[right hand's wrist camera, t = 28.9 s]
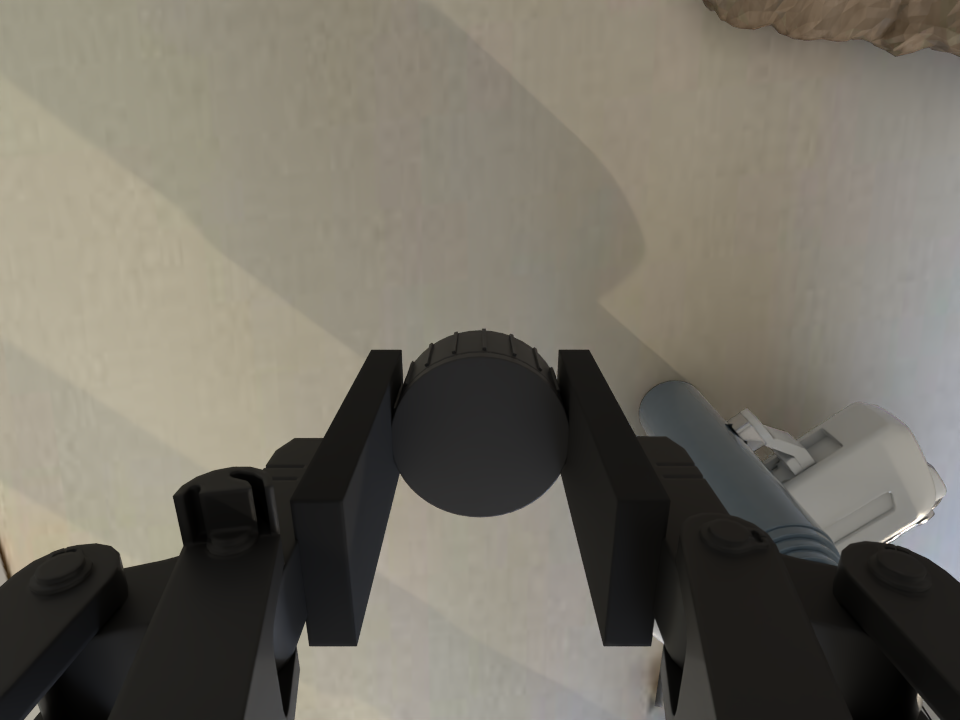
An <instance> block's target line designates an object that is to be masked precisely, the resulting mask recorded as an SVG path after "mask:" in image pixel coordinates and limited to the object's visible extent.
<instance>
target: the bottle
mask: <svg viewBox="0 0 960 720" xmlns="http://www.w3.org/2000/svg"><path fill="white" fill-rule="evenodd" d="M639 419H640V422H641V425H642V427H643V428H644V430H645V432H646V433H647V435H648V436H666V437H668V438H669V439H671V440H672V441H674V442H675V443H677V444H678V445H680V446H681V447H683V448H684V449H685V450H686V451H687V453H688V454H689V456H690V457H691V459H692V460H693V462H694V463H695V466H697V467H698V469H699V470H700V472H701V473H702V475H703V478H705V479H706V481H707V482H708V484H709V485H710V486H711V488H712V489H713V491H714V492H715V494H716V495H717V497H718V498H719V500H720V501H721V503H722V504H723V505H724V507H725V508H726V510H727V511H728V513H729V514H730V515H732V516H737V517H739V518H742V519H744V520H746V521H749V522H751V523H753V524H755V525H756V526H758V527H759V528H761V529H762V530H764V531H765V532H766V533H768V534H769V536H770V537H771V538H772V540H773V541H774V542H775V544H776V545H777V547H778V550H779V552H780V553H781V554H785V555H789V556H792V557H796V558H800V559H805V560H810V561H815V562H820V563H825V564H830V565H835V566H838V563H839V559H840V553H839V551H838V550H837V548H836V547H835V544H834V542H833V541H832V539H831V538H830V537H829V536H828V534H827V533H826V532H825V531H824V530H823V529H822V528H821V527H820V526H819V524H818V523H817V522H816V521H815V520H814V519H813V518H812V517H811V515H810V514H809V513H808V512H807V511H806V510H805V509H804V508H803V507H802V505H801V504H800V503H799V502H798V501H797V500H796V499H795V498H794V497H793V495H792V494H791V493H790V492H789V491H788V490H787V489H786V488H785V486H784V485H783V484H782V483H781V482H780V481H779V480H778V479H777V478H776V476H775V475H774V474H773V473H772V472H771V471H770V470H769V469H768V468H767V466H766V465H765V464H764V463H763V462H762V461H761V460H760V459H759V457H758V456H757V455H756V454H755V453H754V452H753V451H752V450H751V449H750V447H749V446H748V445H747V444H746V443H745V442H744V441H743V440H742V439H741V438H740V437H739V436H738V434H737V433H736V432H735V431H734V430H733V429H732V428H731V427H730V425H729V424H728V423H727V422H726V421H725V420H724V418H723V417H722V416H721V415H720V414H719V413H718V412H717V411H716V409H715V408H714V407H713V406H712V405H711V404H710V403H709V402H708V401H707V399H706V398H705V397H704V396H703V395H702V394H701V393H700V392H699V391H698V389H697V388H695V387H694V386H693V385H691V384H689V383H686V382H683V381H668V382H664V383H661V384H659V385H657V386H655V387H654V388H653V389H651V390H650V391H649V392H648V393H647V394H646V395H645V397H644V398H643V400H642V402H641V405H640V408H639Z"/></svg>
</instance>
